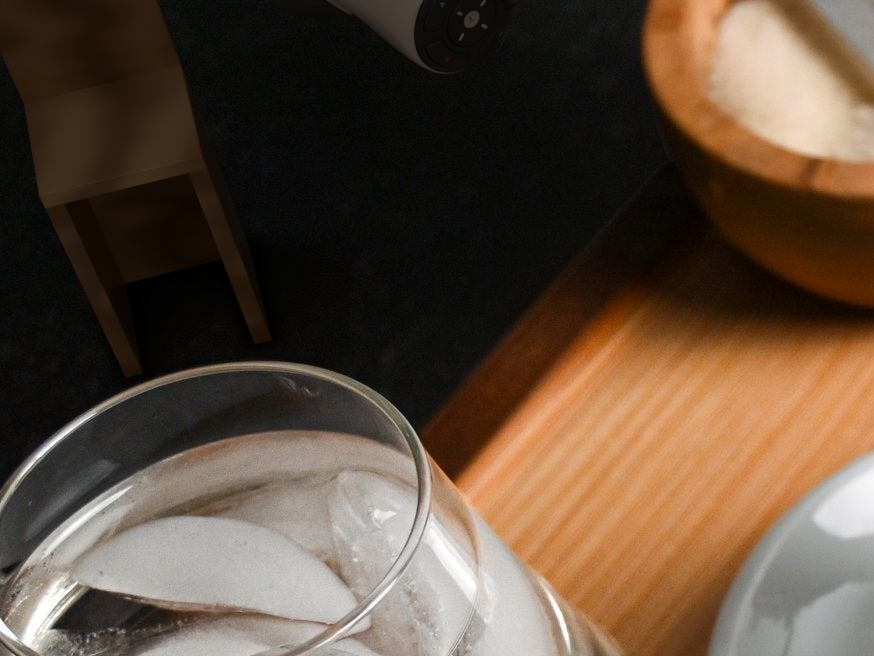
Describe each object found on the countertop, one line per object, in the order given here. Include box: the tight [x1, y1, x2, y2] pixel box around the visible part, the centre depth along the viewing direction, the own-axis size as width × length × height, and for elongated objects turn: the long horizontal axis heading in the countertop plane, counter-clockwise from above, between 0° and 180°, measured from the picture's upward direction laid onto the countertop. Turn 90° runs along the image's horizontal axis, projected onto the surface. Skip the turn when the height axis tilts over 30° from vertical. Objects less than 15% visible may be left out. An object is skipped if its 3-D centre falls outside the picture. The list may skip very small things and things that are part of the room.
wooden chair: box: [0, 0, 273, 378], centre depth 121 cm, size 10×10×30 cm
